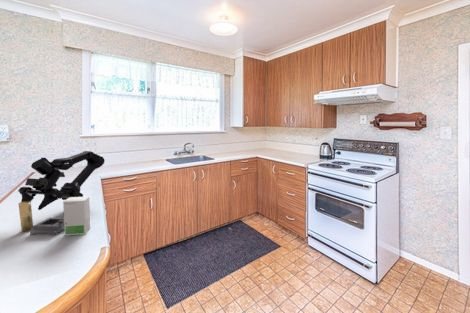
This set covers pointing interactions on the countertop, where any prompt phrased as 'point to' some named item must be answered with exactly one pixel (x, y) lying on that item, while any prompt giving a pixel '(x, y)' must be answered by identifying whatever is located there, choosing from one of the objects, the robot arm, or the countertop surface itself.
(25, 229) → the brass pin
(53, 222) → the gray open box
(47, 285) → the countertop surface
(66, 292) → the countertop surface
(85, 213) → the skincare box
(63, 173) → the robot arm
